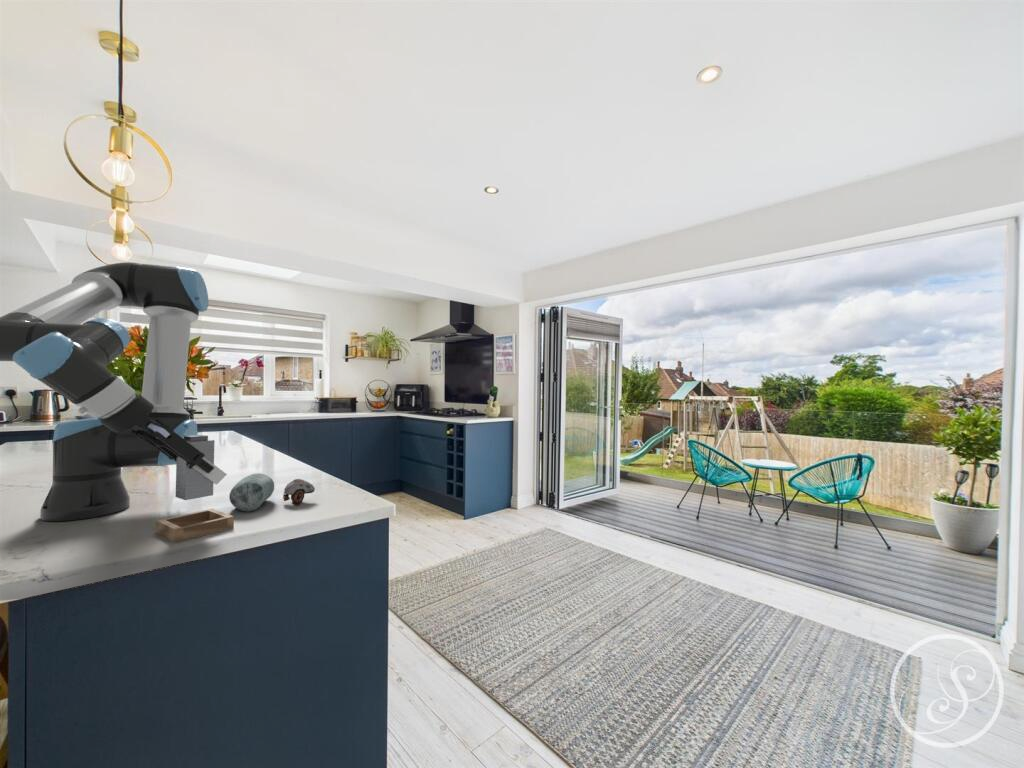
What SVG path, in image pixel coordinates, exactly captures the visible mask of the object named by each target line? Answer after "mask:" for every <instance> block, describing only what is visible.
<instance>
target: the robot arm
mask: <svg viewBox="0 0 1024 768" xmlns="http://www.w3.org/2000/svg"><path fill="white" fill-rule="evenodd" d="M117 307H135V308H142V311H143V312H144V314H146V316H148V317H149V323H148V334H147V343H146V351H145V353H146V354H145V359H144V370H143V371H144V372H143V379H142V388H141V393H139V394H137V393H136V389H134V388H133V387H132V386H131V385H129V384H128V383H127V382H126V381H124V380H123V379H122V378H120V377H119V376H118V375H115V374H114V373H113V372H112V371H110V370H109V369H108V368H107V367H108V366H109V365H110V364H111V363H112V362H114V361H115V359H117V357H118V358H119V356H121V355H122V354H123V353H124V351H125V349H126V348H127V347H128V346H129V344H130V343H131V335H130V333H129V331H128V330H127V328H126V327H125V325H123V324H121V323H120V322H119V321H117V320H114V319H110V318H106V317H96V318H93V319H92V317H94V316H95V315H97V314H98V313H100V312H102V311H110V310H113V309H115V308H116V309H117ZM208 308H209V293H208V289H207V285H206V282H205V280H204V278H203V276H202V275H201V273H200V272H199V271H198V270H196V269H194V268H189V267H188V268H187V267H181V266H172V265H171V266H170V265H159V264H150V263H139V262H131V261H129V262H127V261H126V262H117V263H109V264H107V265H106V264H105V265H102V266H98V267H93V268H92V269H88V270H86V271H83V272H81V273H79V274H77V275H76V276H75V277H73V279H72V280H71V283H70V284H67V285H65V286H63V287H61V288H59V289H57V290H55V291H53V292H50V293H49V294H47V295H45V296H42V297H40V298H38V299H36V300H34V301H32V302H30V303H28V304H25V305H24V306H23V305H22V306H21V307H19V308H17V309H15V310H13V311H11V312H8V313H7V314H3V315H2V316H0V362H14V363H16V365H18V366H19V367H20V368H21V369H23V370H24V371H26V373H28V374H29V376H31V377H32V378H33V379H35V380H38V381H39V382H41V383H42V384H44V385H46V386H47V387H49V388H50V389H51V390H53V391H54V392H56V393H58V394H59V395H61V396H62V397H64V398H65V399H67V400H68V401H69V402H70V403H71V404H74V405H75V406H76V407H80V408H78V410H77V412H78V413H79V414H82V415H83V414H85V413H87V414H88V416H89V415H90V417H92V418H82V419H76V420H67V421H62V422H59V423H57V425H56V426H55V427H54V431H53V437H52V442H51V443H52V484H51V487H50V489H49V491H48V493H47V496H46V497H45V499H44V502H43V503H42V506H41V507H40V512H39V513H40V514H39V519H40V520H42V521H45V522H65V521H68V522H69V521H74V520H75V521H76V520H84V519H90V518H97V517H102V516H106V515H111V514H114V513H117V512H120V511H123V510H126V509H128V508H129V507H130V506H131V499H130V498H131V497H130V494H129V493H128V490H127V488H126V485H125V484H124V480H123V478H122V468H139V467H165V466H174V465H175V466H176V461H177V456H179V457H180V458H182V459H183V460H185V461H186V462H188V463H189V464H190V466H189V467H188V468H189V469H191V468H194V469H195V470H196V471H198V472H199V473H201V474H202V475H203V476H205V477H206V478H208V479H209V480H210V481H212V482H213V485H218V484H219V483H221V481H222V480H223V479H224V478H225V477H226V476H227V475H228V474H227V473H226V472H224V470H221V469H220V467H218V466H217V465H215V463H214V464H213V463H211V462H210V461H209V460H207V459H206V458H205V457H204V456H205V455H204V453H201V452H200V451H199V450H198V449H196V448H195V447H194V446H192V445H191V444H190V443H188V442H187V441H186V440H184V436H190V435H199V432H198V424H197V422H196V421H195V420H193V419H190V418H191V417H190V416H191V415H190V413H189V412H188V411H187V410H186V409H185V408H184V403H185V393H186V381H187V380H186V379H187V371H188V361H189V360H188V359H189V349H190V340H191V339H190V337H191V336H190V335H191V327H192V326H191V325H192V323H194V322H195V321H197V320H199V317H200V316H199V315H200V314H199V313H203V312H206V311H208ZM89 319H90V320H89Z"/></svg>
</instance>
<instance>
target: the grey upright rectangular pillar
mask: <svg viewBox="0 0 1024 768" xmlns="http://www.w3.org/2000/svg"><path fill="white" fill-rule="evenodd" d="M184 440H186V441H187V442H188V443H190V444H191V445H192V446H194V447H195V448H196V449H198V450H199V451H200V452H201V453H204V455H205V456H204V457H205V458H206V459H207V460H209V461H210V462H211V463H213V464H214V465H215V439H209V436H208V435H206V434H197V435H190V436H184ZM175 466H176V468H175V469H176V470H175V471H176V472H175V498H177V499H180V500H183V501H190V500H195V499H200V498H206V497H212V496H214V483H213V482H212V481H210V480H209V479H208V478H206V477H205V476H203V475H202V474H201V473H199V472H198V471H196V470H195V469H194V468H191V469H189V468H188V467H189V466H190V464H189V463H188V462H186V461H185V460H183V459H182V458H180V457H179V456H177V461H176V465H175Z"/></svg>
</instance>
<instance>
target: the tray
mask: <svg viewBox="0 0 1024 768" xmlns="http://www.w3.org/2000/svg"><path fill="white" fill-rule="evenodd" d="M234 520H235V517H234V515H232V514H231V515H230V514H228V513H225V512H222V511H220V510H218V509H215V508H208V509H205V510H204V509H203V510H200V511H195V512H191V513H186V514H180V515H175V516H172V517H166V518H162V519H157V520H156V522H155V533H156V534H158V535H160V536H162V537H164V538H166V539H167V540H170V541H172V542H174V543H180V542H183V541H187V540H191V539H195V538H199V537H203V536H207V535H211V534H215V533H219V532H221V531H222V532H224V531H226V530H230V529H234V526H235V522H234Z"/></svg>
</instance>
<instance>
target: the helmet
mask: <svg viewBox="0 0 1024 768" xmlns="http://www.w3.org/2000/svg"><path fill="white" fill-rule="evenodd" d="M315 490H316V488H315V485H313V484H312V483H311V482H310V481H308V480H305V479H300V478H297V479H295V478H294V479H293V481H290V482H289V483H287V485H286V486H285V487H284V489H283V494H282V500H283V501H284V502H286V501H290V500H291V501H292V502H291V503H292V504H293V505H294V506H299V505H301V504H302V503H303V501H304V499H305V495H306V494H313V493H314V492H315Z"/></svg>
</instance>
